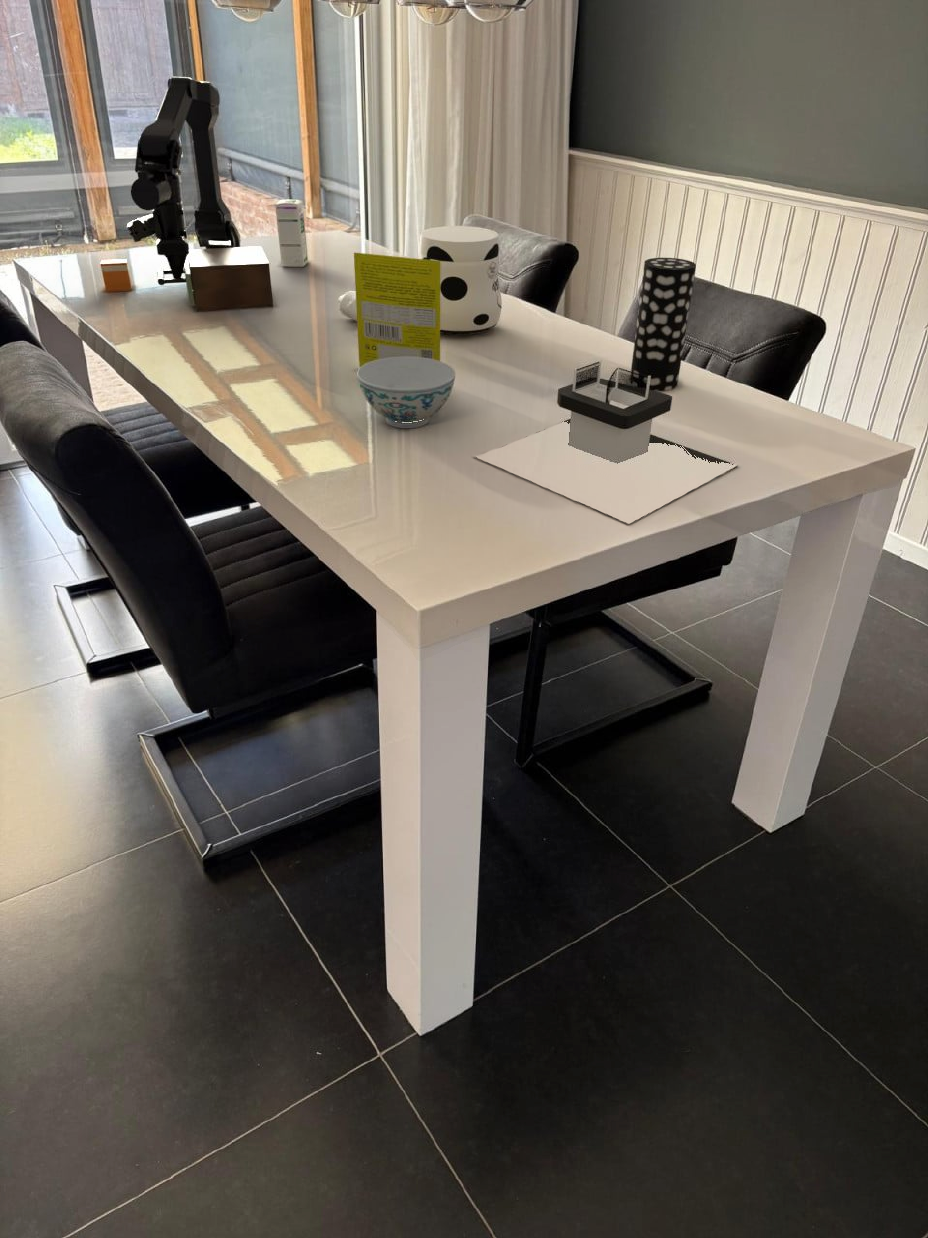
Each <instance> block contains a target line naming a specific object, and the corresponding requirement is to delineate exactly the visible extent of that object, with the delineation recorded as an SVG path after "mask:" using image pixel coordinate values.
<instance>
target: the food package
mask: <svg viewBox="0 0 928 1238" xmlns="http://www.w3.org/2000/svg"><path fill="white" fill-rule="evenodd" d="M353 263H354V267H353V268H354V285H355V286H354V287H355V291H356V308H357V322H356V324H357V346H358V365H359V366H358V367H359V368H360V367H361V366H363V365H364V364H366V363H369V362H371V361H374V360H378V359H383V358H390V357H422V358H429V359H434V360H438V361H441V333H440V261H434V260H424V259H419V258H413V257H405V256H396V255H395V256H394V255H383V254H374V253H363V252H353ZM359 368H358V369H359Z"/></svg>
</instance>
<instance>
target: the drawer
mask: <svg viewBox="0 0 928 1238" xmlns="http://www.w3.org/2000/svg"><path fill="white" fill-rule="evenodd" d="M182 274H184V277H181V278H173V277H172V278H165V275H172V272H171V269H170V268H168V269H163V268H157V270H156V275H157V276H156V277H157V283H158V285H159V286H164V285H165V284H181V283H182V284H184V283H185V284H186V291H187V296H188V303H189V307H196V303H195V296H194V290H193V283H192V276H191V275H190V268H189V261H188V257H187V258H186V261H185V265H184V268H183V272H182Z"/></svg>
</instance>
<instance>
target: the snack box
mask: <svg viewBox="0 0 928 1238" xmlns="http://www.w3.org/2000/svg"><path fill="white" fill-rule="evenodd" d="M100 269H101V273H102V279H103V283H104V289H105V292H106V293H110V292H112V293H113V292H129V291H132V290H133V285H132V280H131V275H130V269H129V262H128V259H126V258H123V259H101V260H100Z"/></svg>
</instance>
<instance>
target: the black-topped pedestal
mask: <svg viewBox="0 0 928 1238" xmlns="http://www.w3.org/2000/svg"><path fill="white" fill-rule="evenodd" d="M602 363H603V361H602V360H599V361H597V362H594V363H591V364H588V365H585V366H582V367H578V368H576V367H575V368H573V369H574V370H573V381H572V383H571V384H568V385H565V386H562V387H560V388H558V389H557V396H556V397H557V399H556V403H557V406H558V407H559V408H562V409H564V410H567V411H570V418H568V419H566V420H563V421H564V422H567V421H568V422H567V423H568V424H569V423H570V432H569V443H568V445H569V446H572V447H574V448H576V449H579V450H582V451H584V452H587V453H590V454H592V455H595V456H598V457H601V458H603V459H606V460H609V461H610V462H614V463H617V464H618V463H620V462H623V461H626V460H628V459H631V458H634V457H636V456H639V455H642V454H644V453H646V452H648V446H649V443H662V444H664V443H666V444H667V445H668V444H670V445H675V444H676V445H677V446H678V447H680V446H681V447H682V446H683V447H684V448H685V449H686V450H687V451H688V452H689V453H690V454H691V455H692V457H694V458H695V459H696V457H697V458H698V457H699V458H701V459H702V460H704V459H705V461H706V459H707V460H708V462H709V461H710V462H715V463H716V461H717V463H718V464H719V462H720V463H721V462H724V463H729V464H730V463H731V462H729V461H727V460H724V459H721V458H719V457H716V456H713V455H710V454H707V453H704V452H702V451H699V450H697V449H693V448H691V447H687V446H685V445H682V444H679V443H677V442H673V441H670V440H668V439H666V438H662V437H659V436H657V435H654V434H652V433H651V432H652V426H653V425H652V424H653V419H655V418H657V417H660V416H661V415H664V414H666V413H669V412H670V411H671V410H672V402H673V396H672V395H670V394H666V393H664V392H662V391H653V390H649V385H650V378H651V376H648V377H647V376H644V375H641V374H638V373H635V372H631V370H628V369H624V368H622V367H621V366H620V365H619V366H617V368H616V369H615V370H614V371H613V372H612V374H611V375H610V377H609V379H605V378H601V373H602ZM631 373H634V374H635V376H636V377H634V376H632V375H631ZM638 375H640V376H641V377H642V379H640V378H639V380H640V382H641V383H642V385H643V387H644V388H642V386H641V384H640V382H639V381H638V379H637V378H638ZM631 376H632V377H633V379H634V380H635V382H636V384H637V386H638V387H637V386H636V385H635V383H634V381H633V380H632V378H631ZM644 377H646V378H647V379H648V381H647V380H645V379H644ZM635 378H636V379H635ZM630 379H631V380H630ZM636 380H637V381H636ZM644 380H645V381H646V383H647V386H646V384H645V382H644ZM631 381H632V382H631ZM643 383H644V384H643ZM639 385H640V386H639ZM644 385H645V386H644ZM640 387H641V388H640ZM611 401H612V402H615V403H618V404H621V405H624V406H626V407H624V408H622V407H620V406H616V405H614V404H611V403H610V402H611ZM676 445H675V446H676ZM668 446H669V445H668ZM681 447H680V448H681ZM683 447H682V448H683ZM684 448H683V449H684ZM685 449H684V451H686V450H685ZM687 451H686V453H687ZM687 454H688V453H687ZM688 455H689V454H688ZM694 455H695V456H696V457H695V456H694ZM703 458H704V459H703ZM710 462H709V463H710ZM733 464H734V463H733ZM733 464H732V465H733Z"/></svg>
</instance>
